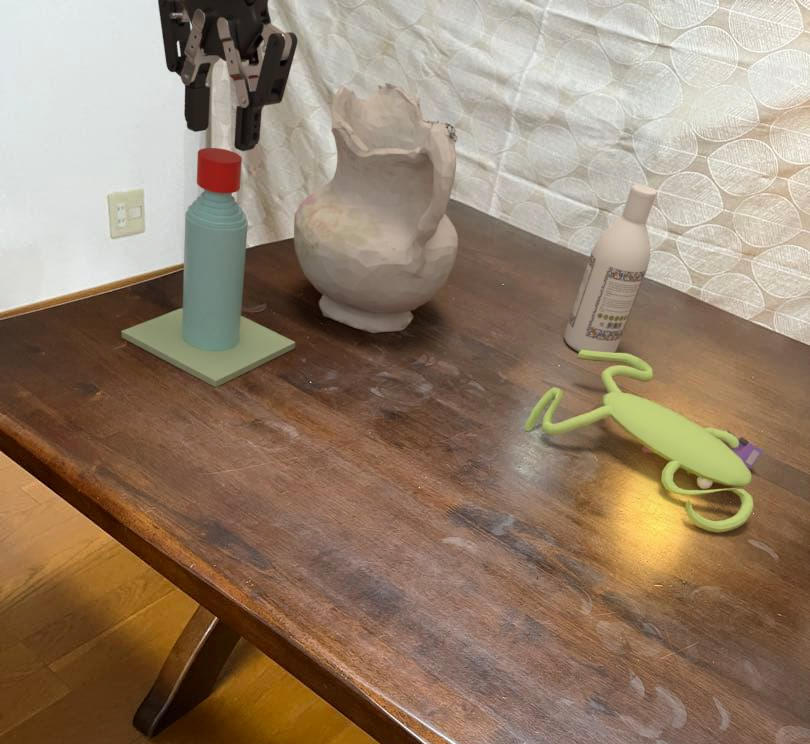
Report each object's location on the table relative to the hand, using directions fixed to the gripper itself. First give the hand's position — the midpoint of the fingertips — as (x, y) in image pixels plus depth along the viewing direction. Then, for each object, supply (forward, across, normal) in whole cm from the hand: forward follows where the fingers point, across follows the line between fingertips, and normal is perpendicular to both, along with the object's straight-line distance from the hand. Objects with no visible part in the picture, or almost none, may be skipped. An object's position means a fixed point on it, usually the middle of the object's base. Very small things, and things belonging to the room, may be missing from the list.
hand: (220, 138), depth 80 cm
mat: (+21, 0, 0) cm, 21 cm away
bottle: (+20, 0, 0) cm, 20 cm away
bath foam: (+21, -30, -38) cm, 53 cm away
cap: (+4, 0, 0) cm, 4 cm away
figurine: (+21, -44, -19) cm, 52 cm away
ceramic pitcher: (+21, -7, -21) cm, 31 cm away
